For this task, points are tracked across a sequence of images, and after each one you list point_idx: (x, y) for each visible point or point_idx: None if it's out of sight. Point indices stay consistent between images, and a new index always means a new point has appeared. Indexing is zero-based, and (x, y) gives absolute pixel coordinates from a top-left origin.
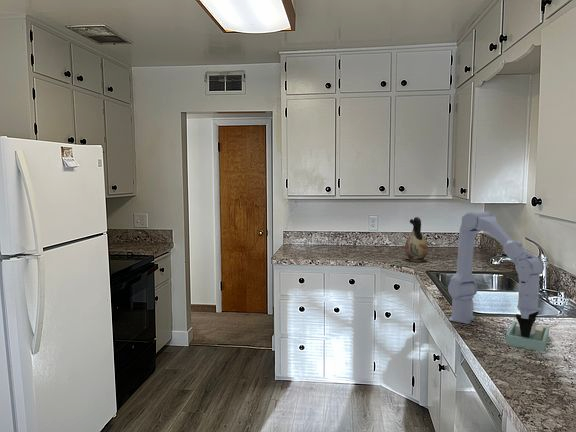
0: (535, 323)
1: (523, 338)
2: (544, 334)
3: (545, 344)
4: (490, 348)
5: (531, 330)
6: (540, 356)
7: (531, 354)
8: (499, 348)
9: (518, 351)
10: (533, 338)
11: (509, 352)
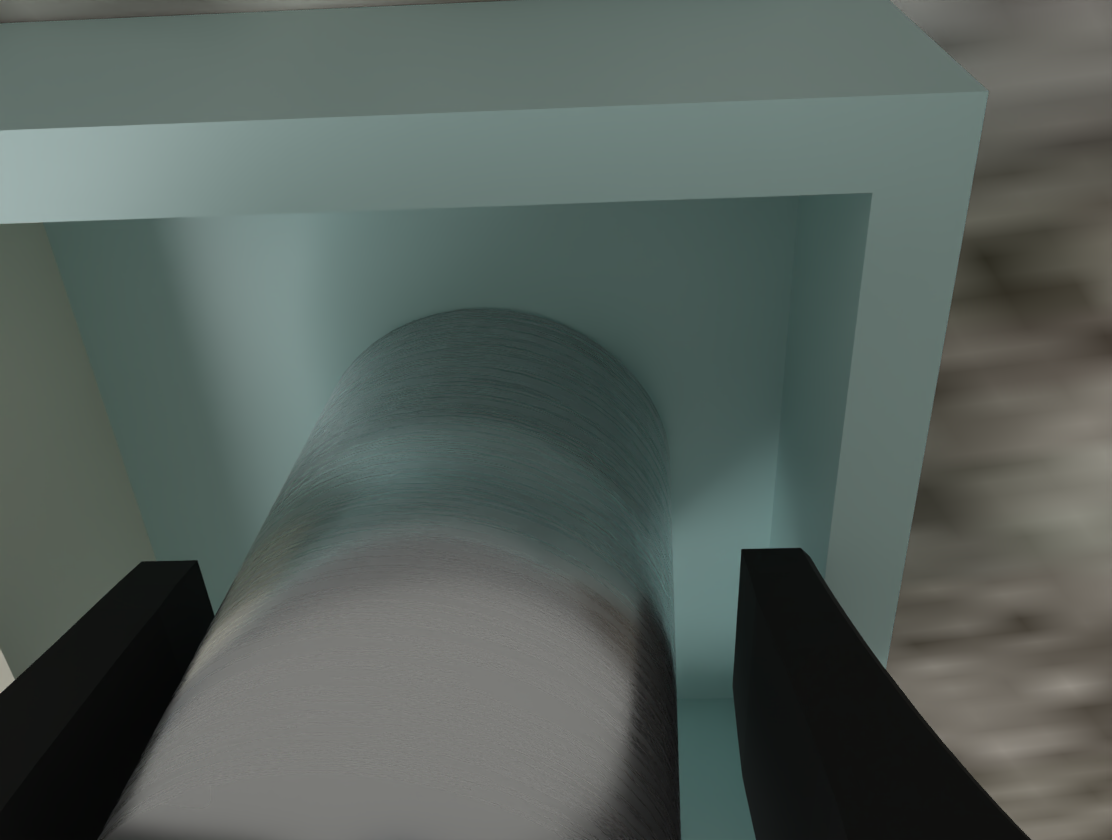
0: (304, 794)
1: (891, 629)
2: (39, 207)
3: (488, 45)
4: (1019, 817)
5: (634, 663)
6: (1051, 45)
7: (1003, 247)
8: (946, 731)
9: (940, 482)
10: (550, 419)
11: (1084, 592)
